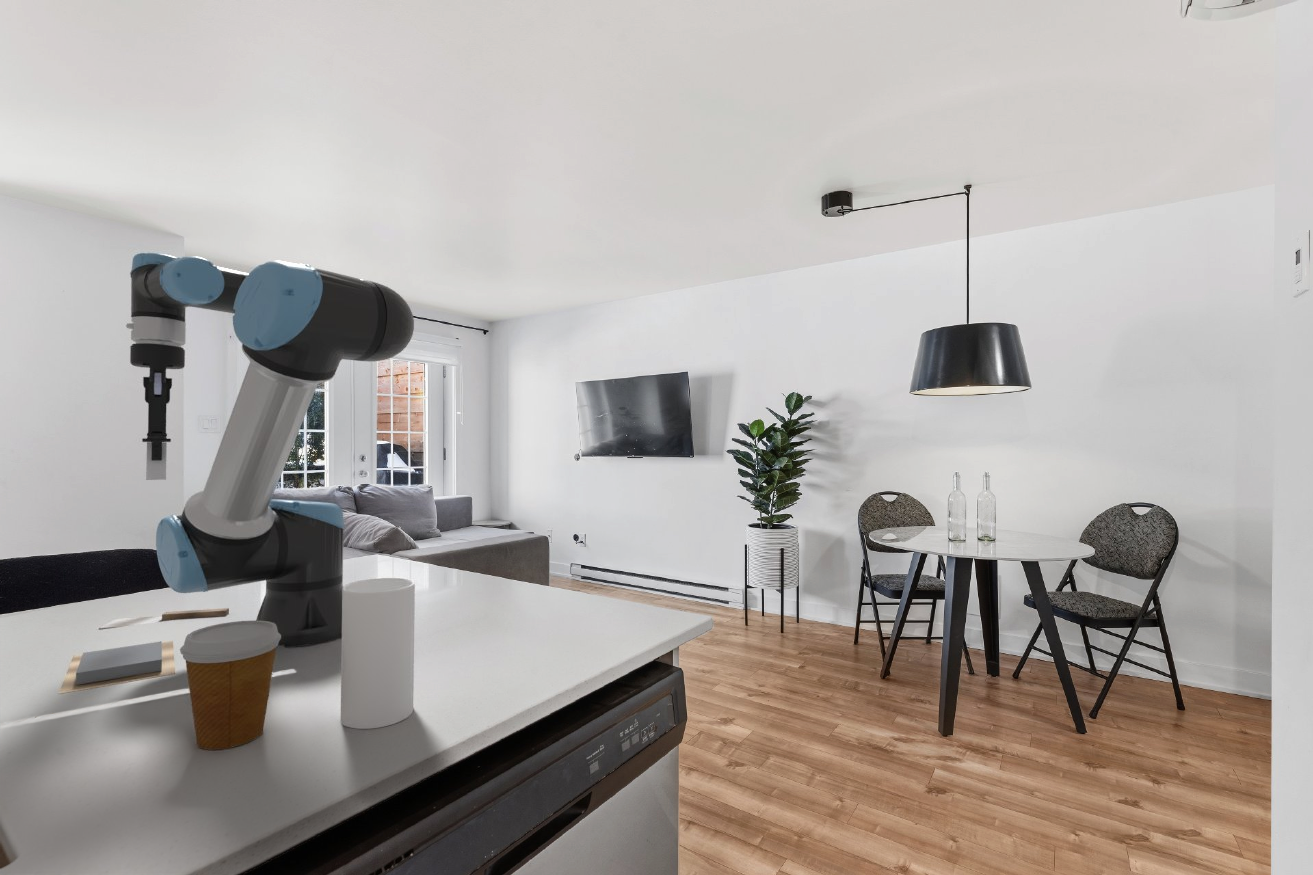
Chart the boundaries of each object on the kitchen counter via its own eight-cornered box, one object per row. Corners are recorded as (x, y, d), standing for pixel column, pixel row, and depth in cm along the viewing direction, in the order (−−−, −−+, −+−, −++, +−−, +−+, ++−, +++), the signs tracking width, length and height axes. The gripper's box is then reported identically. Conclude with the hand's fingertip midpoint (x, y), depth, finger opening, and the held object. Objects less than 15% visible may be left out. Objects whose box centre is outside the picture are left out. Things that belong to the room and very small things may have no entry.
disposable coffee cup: (212, 719, 76) (213, 619, 76) (294, 717, 77) (296, 618, 77) (156, 759, 67) (158, 645, 67) (251, 756, 68) (253, 643, 68)
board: (73, 659, 96) (73, 655, 96) (172, 644, 103) (172, 640, 103) (58, 698, 82) (58, 693, 82) (175, 677, 89) (175, 673, 89)
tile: (83, 652, 92) (76, 673, 84) (161, 641, 98) (161, 659, 90) (82, 664, 92) (75, 686, 84) (161, 652, 98) (161, 671, 90)
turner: (232, 613, 122) (232, 605, 122) (221, 622, 117) (221, 613, 117) (115, 621, 117) (115, 612, 117) (98, 630, 111) (98, 621, 111)
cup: (367, 735, 73) (369, 595, 73) (326, 718, 77) (328, 586, 77) (427, 709, 80) (428, 582, 80) (386, 695, 84) (388, 574, 84)
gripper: (131, 346, 114) (129, 478, 114) (129, 338, 104) (126, 482, 104) (183, 350, 119) (181, 477, 119) (186, 342, 108) (184, 480, 108)
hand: (156, 479), depth 111 cm, fingers closed
